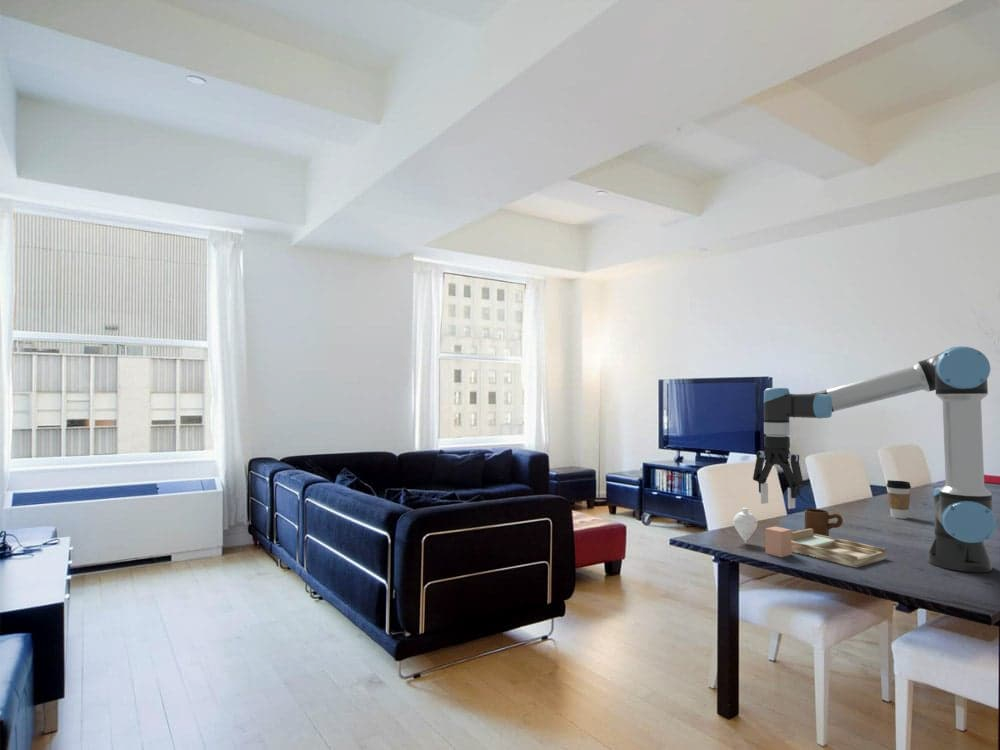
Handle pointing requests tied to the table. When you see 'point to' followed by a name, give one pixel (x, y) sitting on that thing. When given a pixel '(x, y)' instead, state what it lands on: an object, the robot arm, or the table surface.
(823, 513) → the mug
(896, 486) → the coffee cup
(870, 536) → the table surface
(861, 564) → the beige flat rectangular tray
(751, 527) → the spinning top
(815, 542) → the lid
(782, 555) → the block
